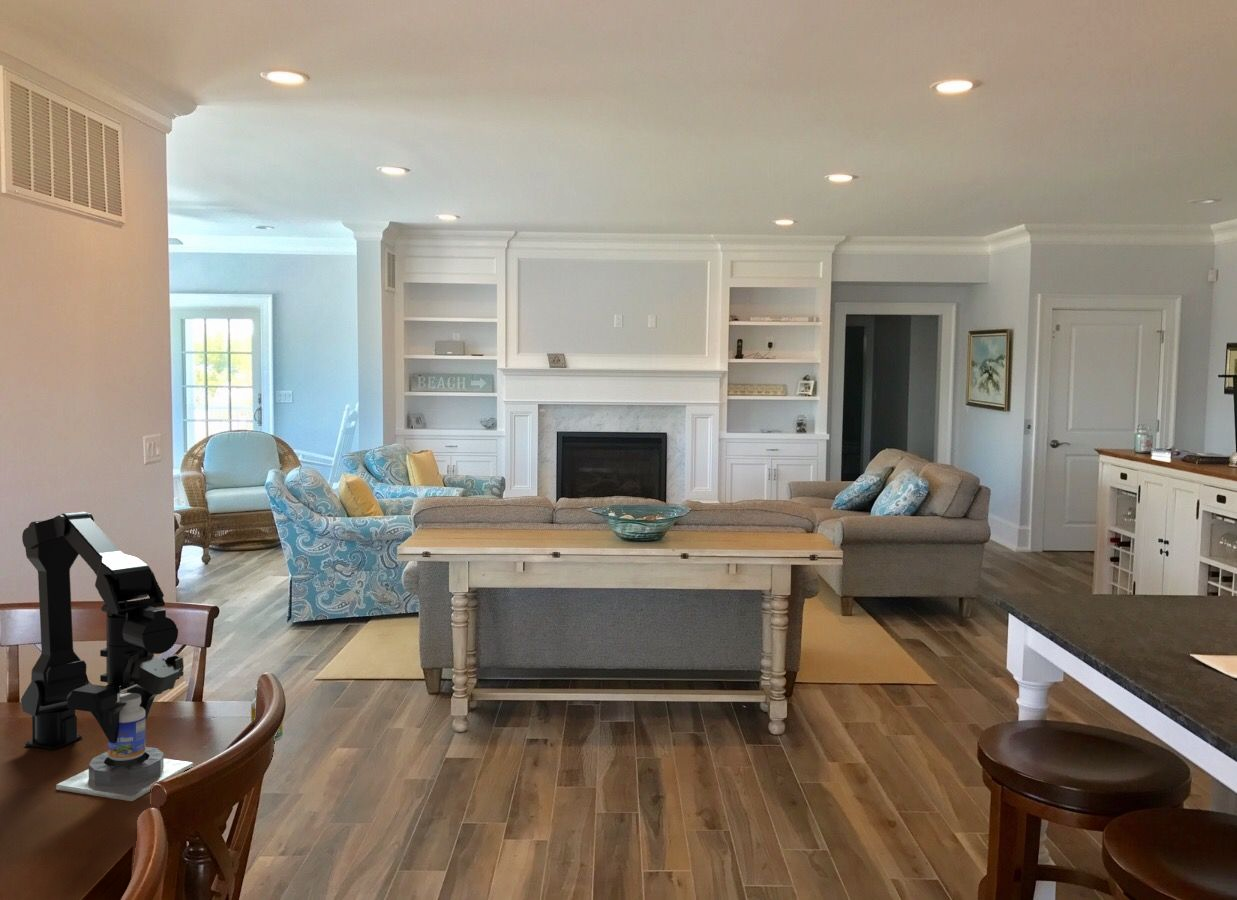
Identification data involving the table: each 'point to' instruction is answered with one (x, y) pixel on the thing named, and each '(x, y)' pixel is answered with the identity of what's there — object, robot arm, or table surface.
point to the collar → (124, 775)
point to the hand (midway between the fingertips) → (126, 736)
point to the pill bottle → (129, 730)
